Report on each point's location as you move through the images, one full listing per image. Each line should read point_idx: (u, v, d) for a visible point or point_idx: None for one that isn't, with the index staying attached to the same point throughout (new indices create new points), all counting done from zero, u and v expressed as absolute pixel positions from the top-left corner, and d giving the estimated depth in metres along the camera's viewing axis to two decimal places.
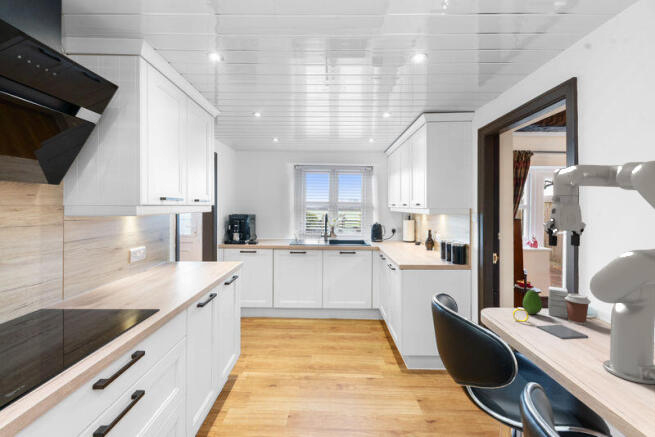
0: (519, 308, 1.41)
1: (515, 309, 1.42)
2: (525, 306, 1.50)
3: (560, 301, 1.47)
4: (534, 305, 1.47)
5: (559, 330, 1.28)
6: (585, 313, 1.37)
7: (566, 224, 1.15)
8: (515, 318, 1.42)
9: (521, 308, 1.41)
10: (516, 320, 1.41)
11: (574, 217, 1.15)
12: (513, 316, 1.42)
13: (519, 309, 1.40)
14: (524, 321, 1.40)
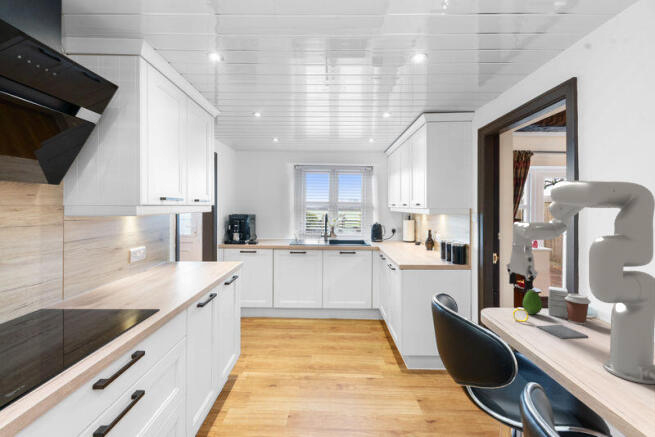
0: (519, 308, 1.41)
1: (515, 309, 1.42)
2: (525, 306, 1.50)
3: (560, 301, 1.47)
4: (534, 305, 1.47)
5: (559, 330, 1.28)
6: (585, 313, 1.37)
7: None
8: (515, 318, 1.42)
9: (521, 308, 1.41)
10: (516, 320, 1.41)
11: None
12: (513, 316, 1.42)
13: (519, 309, 1.40)
14: (524, 321, 1.40)
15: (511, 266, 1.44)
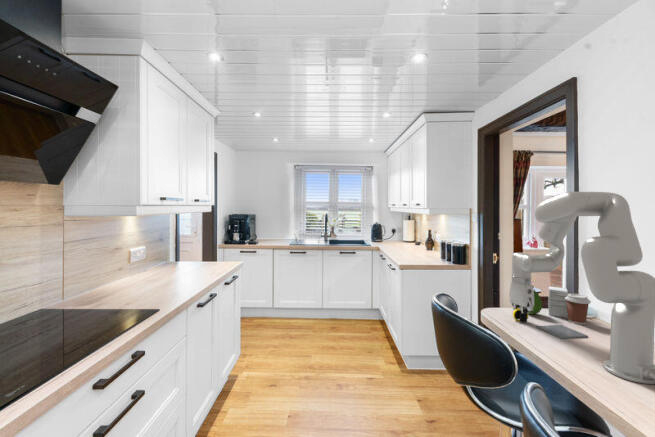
0: (519, 308, 1.41)
1: (515, 309, 1.42)
2: None
3: (560, 301, 1.47)
4: (534, 305, 1.47)
5: (559, 330, 1.28)
6: (585, 313, 1.37)
7: None
8: (515, 318, 1.42)
9: None
10: (516, 319, 1.41)
11: None
12: (513, 316, 1.42)
13: (519, 309, 1.40)
14: None
15: (511, 297, 1.44)
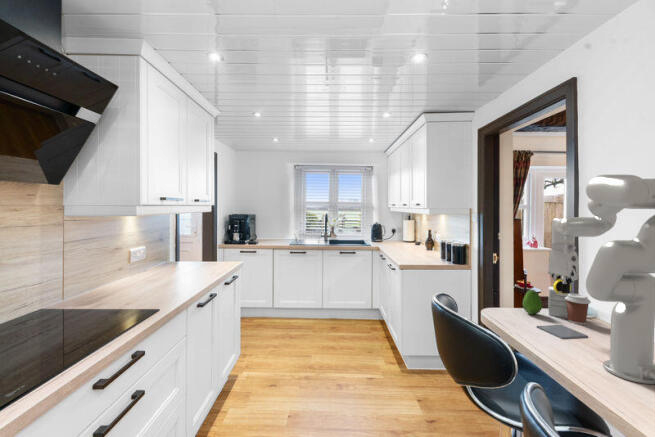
0: (561, 279, 1.27)
1: None
2: (525, 306, 1.50)
3: (560, 301, 1.47)
4: (534, 305, 1.47)
5: (559, 330, 1.28)
6: (585, 313, 1.37)
7: None
8: (556, 290, 1.28)
9: None
10: (558, 292, 1.27)
11: None
12: (554, 288, 1.28)
13: (561, 280, 1.27)
14: (566, 293, 1.27)
15: (551, 267, 1.31)
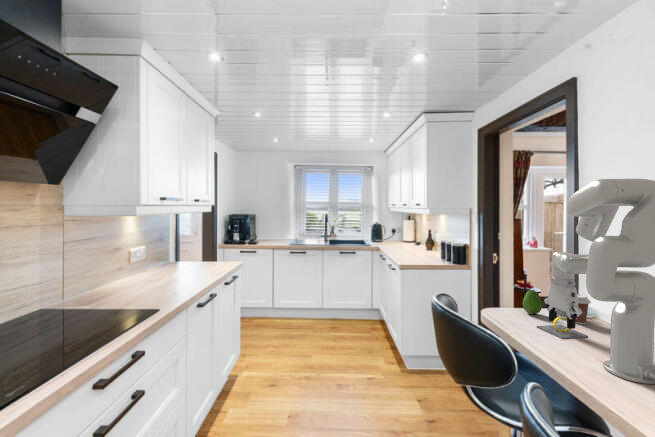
0: (561, 317, 1.28)
1: (556, 318, 1.29)
2: (525, 306, 1.50)
3: None
4: (534, 305, 1.47)
5: None
6: (585, 313, 1.37)
7: None
8: (556, 328, 1.28)
9: (562, 316, 1.28)
10: None
11: None
12: (554, 326, 1.28)
13: (561, 318, 1.27)
14: (566, 331, 1.27)
15: (550, 300, 1.31)
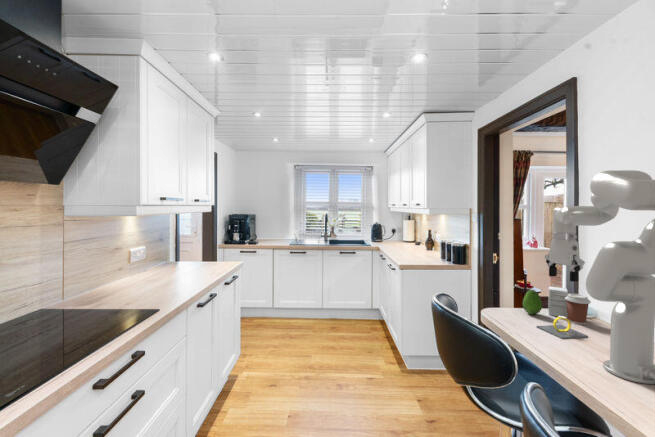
0: (561, 317, 1.28)
1: (556, 318, 1.29)
2: (525, 306, 1.50)
3: (560, 301, 1.47)
4: (534, 305, 1.47)
5: None
6: (585, 313, 1.37)
7: None
8: (556, 328, 1.28)
9: (563, 317, 1.28)
10: None
11: None
12: (554, 326, 1.28)
13: (561, 318, 1.27)
14: (566, 331, 1.27)
15: (551, 256, 1.30)
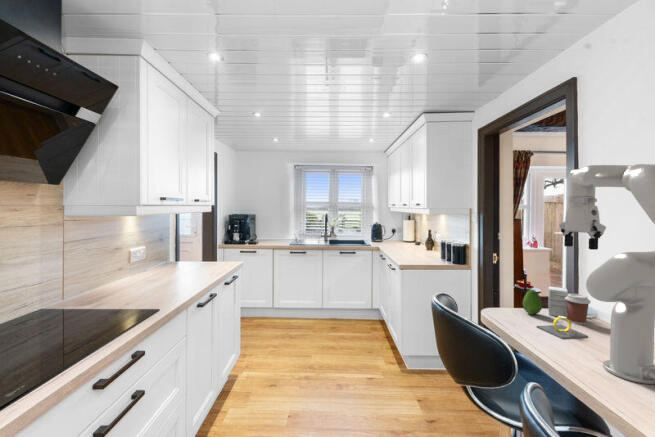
0: (561, 317, 1.28)
1: (556, 318, 1.29)
2: (525, 306, 1.50)
3: (560, 301, 1.47)
4: (534, 305, 1.47)
5: None
6: (585, 313, 1.37)
7: None
8: (556, 328, 1.28)
9: (563, 317, 1.28)
10: None
11: None
12: (554, 326, 1.28)
13: (561, 318, 1.27)
14: (566, 331, 1.27)
15: (567, 224, 1.19)
